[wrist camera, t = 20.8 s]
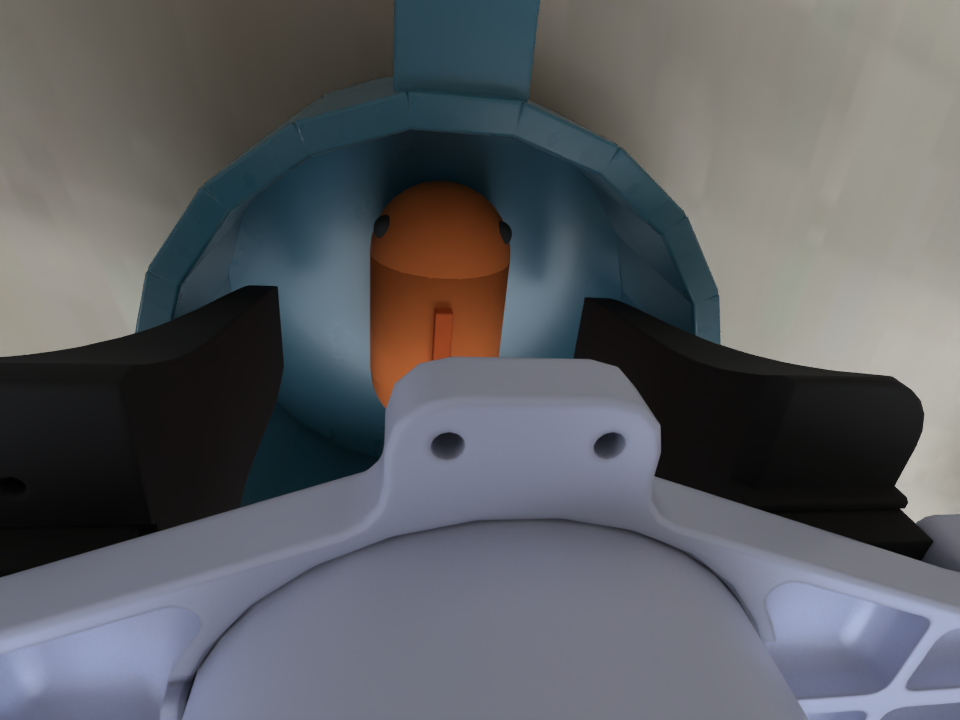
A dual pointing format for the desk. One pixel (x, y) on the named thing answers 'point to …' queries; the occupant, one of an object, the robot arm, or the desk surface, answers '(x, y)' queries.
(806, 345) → the desk surface
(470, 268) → the fish
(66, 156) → the desk surface
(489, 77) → the pan
